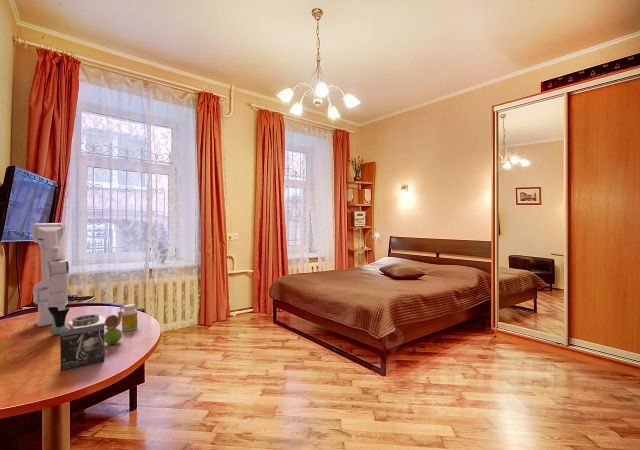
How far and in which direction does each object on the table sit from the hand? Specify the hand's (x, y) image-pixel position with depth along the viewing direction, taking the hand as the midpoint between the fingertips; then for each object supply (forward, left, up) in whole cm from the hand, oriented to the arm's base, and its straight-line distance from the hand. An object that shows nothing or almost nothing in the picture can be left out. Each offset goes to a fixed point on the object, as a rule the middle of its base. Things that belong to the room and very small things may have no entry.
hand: (58, 325), depth 122 cm
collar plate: (-6, +11, -3) cm, 13 cm away
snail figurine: (+29, +11, -3) cm, 31 cm away
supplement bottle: (+16, +20, -3) cm, 26 cm away
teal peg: (0, 0, -3) cm, 3 cm away
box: (+40, 0, -4) cm, 40 cm away
